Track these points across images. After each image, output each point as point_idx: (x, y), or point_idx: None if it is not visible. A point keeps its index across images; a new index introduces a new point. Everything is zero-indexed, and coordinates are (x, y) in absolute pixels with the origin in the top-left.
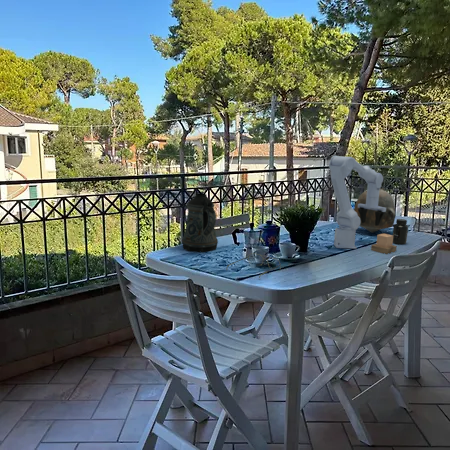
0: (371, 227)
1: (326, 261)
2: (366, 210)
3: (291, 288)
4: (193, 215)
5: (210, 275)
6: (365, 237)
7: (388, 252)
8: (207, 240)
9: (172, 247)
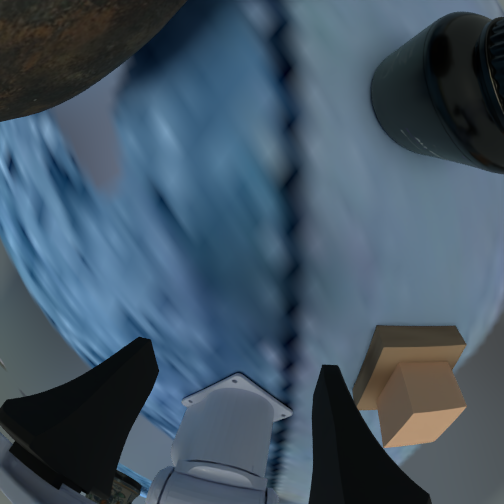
0: (121, 63)
1: (296, 487)
2: (65, 443)
3: None
4: None
5: None
6: (160, 144)
7: None
8: (134, 497)
9: None
